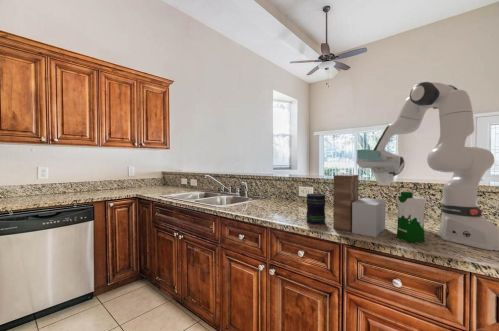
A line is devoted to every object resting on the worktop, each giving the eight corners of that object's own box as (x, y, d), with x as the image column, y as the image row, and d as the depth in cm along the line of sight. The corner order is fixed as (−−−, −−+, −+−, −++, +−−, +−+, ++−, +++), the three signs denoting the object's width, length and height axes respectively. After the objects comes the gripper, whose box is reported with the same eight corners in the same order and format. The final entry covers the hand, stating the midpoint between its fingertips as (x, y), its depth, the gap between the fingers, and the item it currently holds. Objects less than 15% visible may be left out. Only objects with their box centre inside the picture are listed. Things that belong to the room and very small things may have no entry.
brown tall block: (342, 223, 127) (342, 174, 126) (358, 226, 121) (358, 174, 121) (333, 228, 117) (333, 175, 117) (350, 231, 112) (350, 176, 112)
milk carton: (393, 237, 104) (393, 191, 104) (411, 236, 106) (411, 190, 105) (409, 244, 96) (410, 193, 95) (429, 242, 97) (430, 193, 97)
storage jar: (326, 225, 124) (326, 196, 123) (306, 224, 126) (306, 195, 125) (324, 220, 133) (324, 193, 133) (306, 219, 135) (306, 193, 135)
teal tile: (372, 159, 126) (372, 151, 126) (380, 159, 123) (380, 151, 123) (357, 158, 106) (357, 149, 106) (366, 158, 103) (366, 149, 103)
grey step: (363, 225, 124) (363, 197, 124) (385, 228, 117) (385, 199, 117) (352, 232, 110) (352, 202, 110) (376, 237, 104) (376, 205, 103)
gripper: (360, 162, 138) (354, 149, 129) (402, 162, 125) (398, 148, 116) (359, 172, 136) (352, 159, 127) (401, 173, 123) (397, 159, 114)
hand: (374, 154), depth 121 cm, fingers closed on teal tile, 4 cm apart
